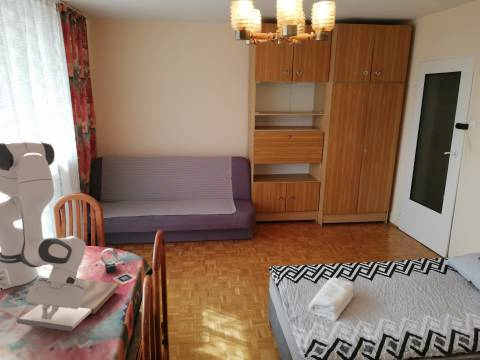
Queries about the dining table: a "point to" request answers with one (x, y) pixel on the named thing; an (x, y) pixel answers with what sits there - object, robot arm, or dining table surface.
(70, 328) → the panel
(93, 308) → the brown flat block
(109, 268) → the watch
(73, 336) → the dining table surface
